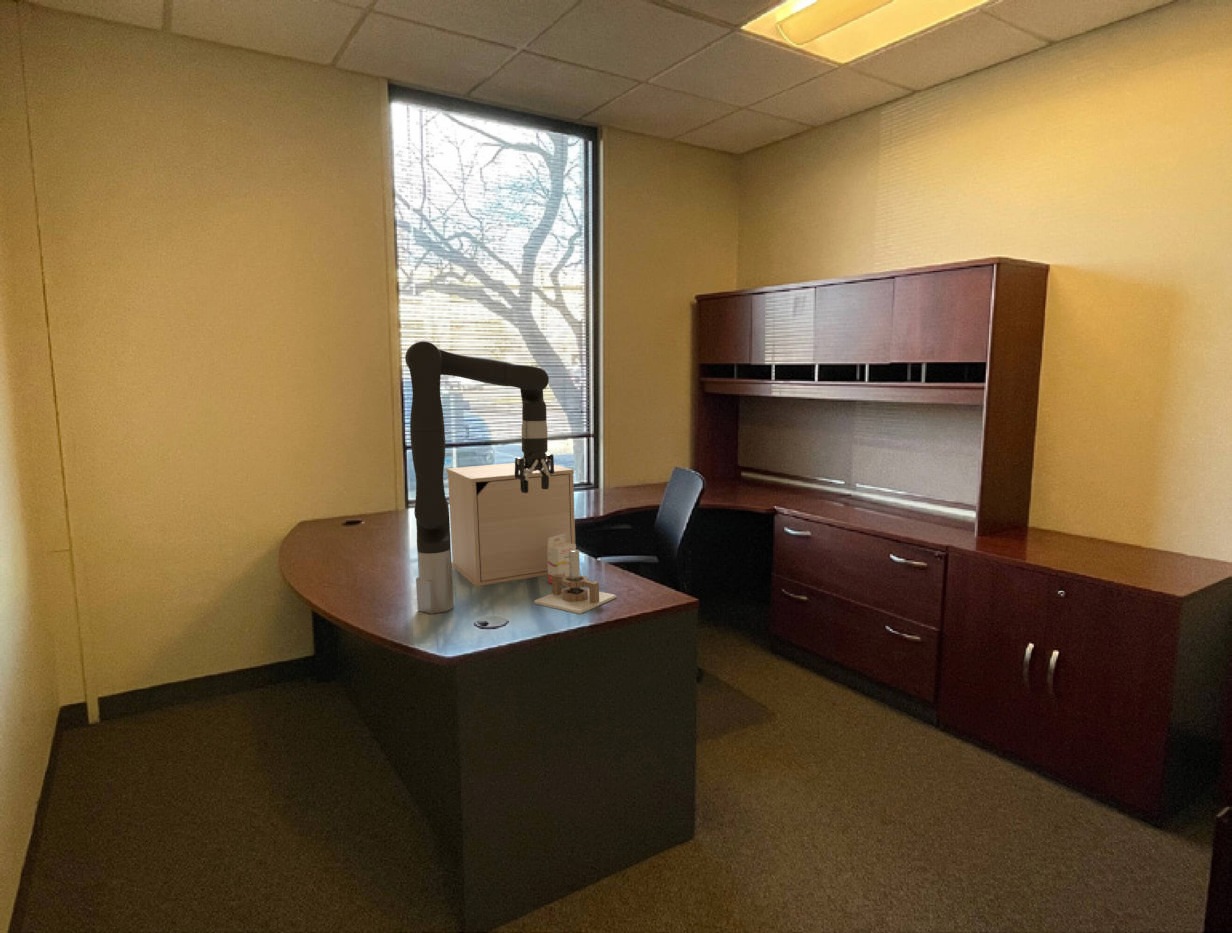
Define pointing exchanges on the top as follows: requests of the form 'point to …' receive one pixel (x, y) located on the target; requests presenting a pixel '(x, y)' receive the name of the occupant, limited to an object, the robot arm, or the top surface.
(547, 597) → the dock
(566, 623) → the top surface
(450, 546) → the robot arm
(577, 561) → the tube
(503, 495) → the cabinet
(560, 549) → the ink cartridge box
